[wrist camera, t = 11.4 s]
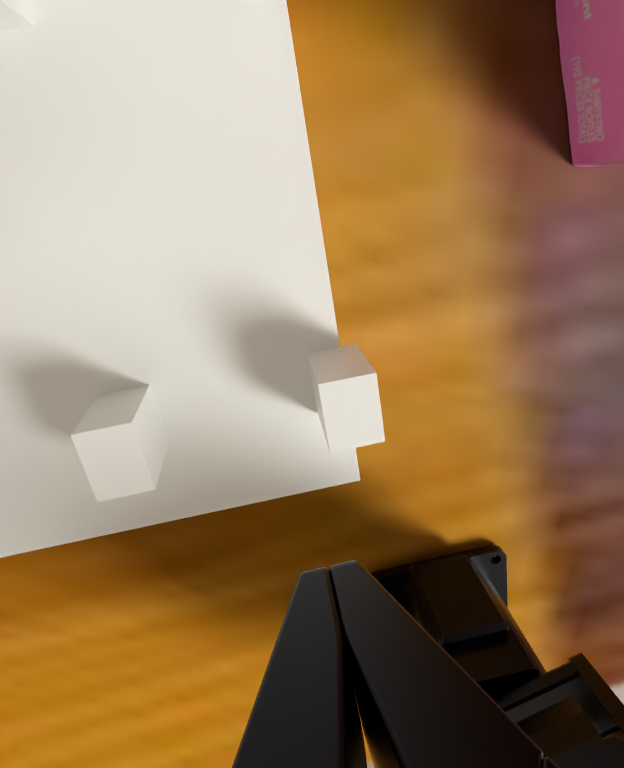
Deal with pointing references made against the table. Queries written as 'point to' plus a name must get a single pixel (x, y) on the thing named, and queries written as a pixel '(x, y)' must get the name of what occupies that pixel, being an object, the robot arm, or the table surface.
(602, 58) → the pink drink multipack
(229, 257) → the board
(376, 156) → the table surface
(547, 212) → the table surface
